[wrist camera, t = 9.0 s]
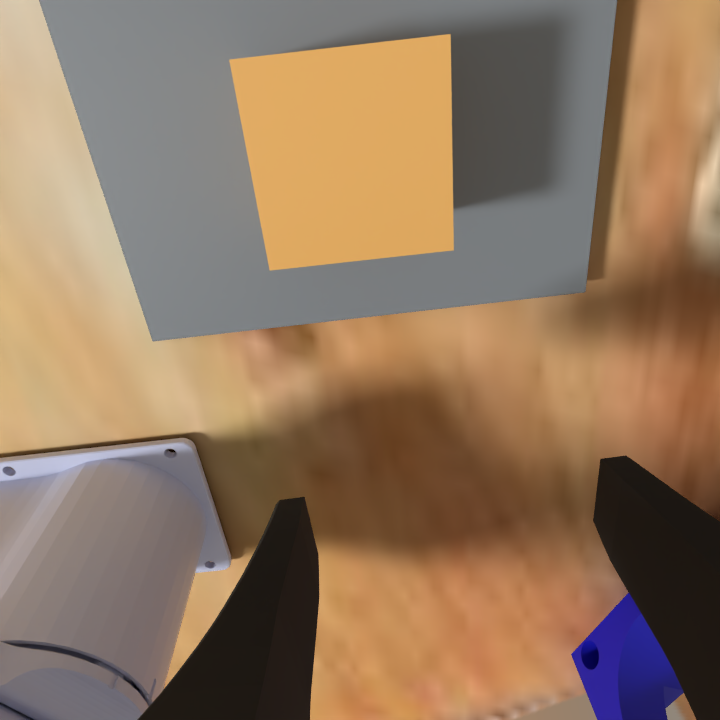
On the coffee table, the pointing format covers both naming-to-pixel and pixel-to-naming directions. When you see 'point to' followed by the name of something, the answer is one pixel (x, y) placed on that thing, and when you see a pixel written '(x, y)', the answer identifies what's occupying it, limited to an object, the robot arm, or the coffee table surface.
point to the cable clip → (626, 668)
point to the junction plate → (233, 176)
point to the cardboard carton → (350, 150)
